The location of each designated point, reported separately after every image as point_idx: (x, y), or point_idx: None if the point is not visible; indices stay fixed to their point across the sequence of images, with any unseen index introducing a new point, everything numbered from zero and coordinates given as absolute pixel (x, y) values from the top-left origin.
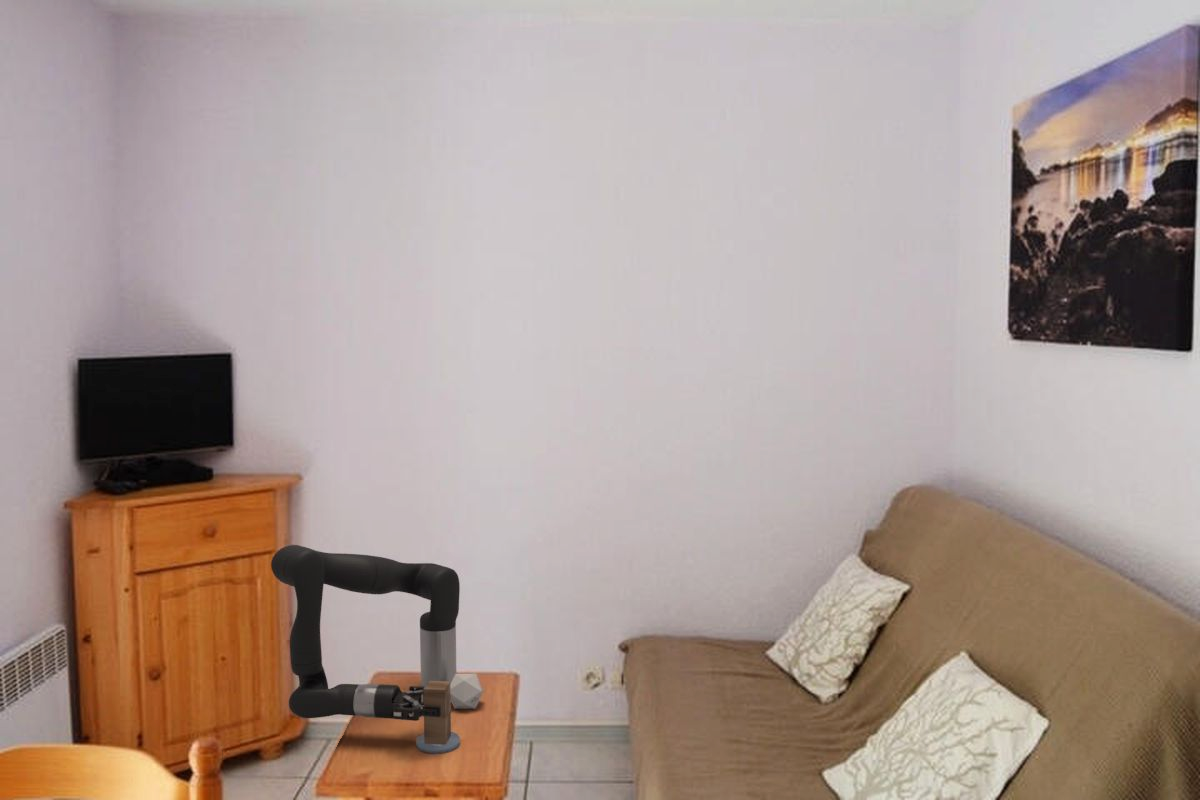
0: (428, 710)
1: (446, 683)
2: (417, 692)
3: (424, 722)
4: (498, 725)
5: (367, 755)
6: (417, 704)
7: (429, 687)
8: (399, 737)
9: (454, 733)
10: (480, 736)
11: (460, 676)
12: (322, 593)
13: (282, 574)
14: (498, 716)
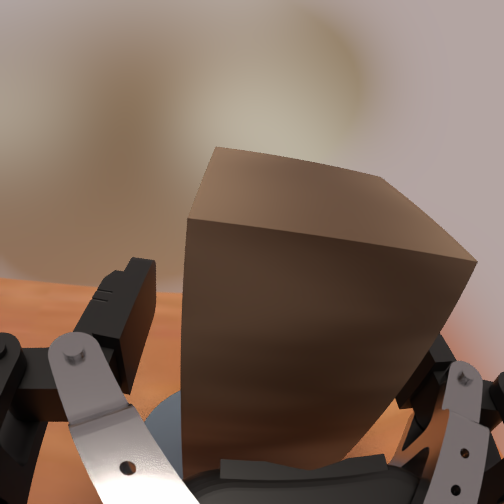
0: (445, 345)
1: (258, 157)
2: (191, 501)
3: (335, 462)
4: (86, 297)
5: None
6: (459, 413)
7: (413, 225)
8: None
9: (173, 401)
10: (158, 338)
11: None
12: None
13: None
14: (28, 293)
